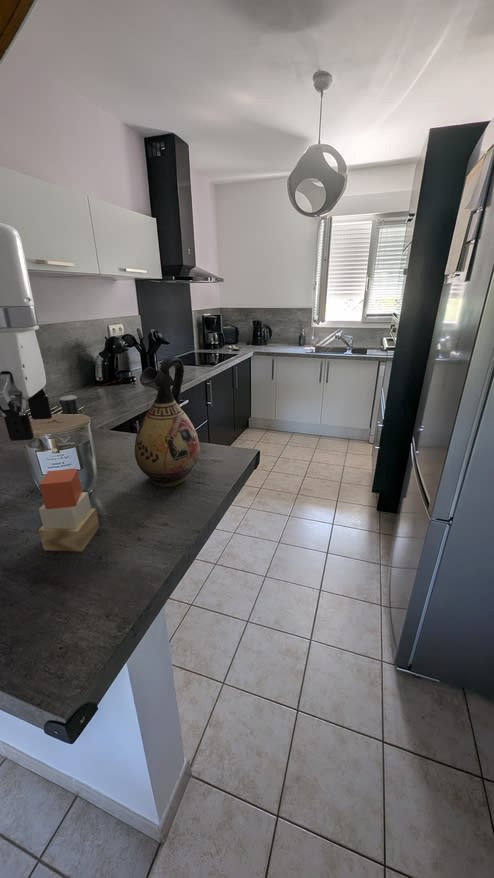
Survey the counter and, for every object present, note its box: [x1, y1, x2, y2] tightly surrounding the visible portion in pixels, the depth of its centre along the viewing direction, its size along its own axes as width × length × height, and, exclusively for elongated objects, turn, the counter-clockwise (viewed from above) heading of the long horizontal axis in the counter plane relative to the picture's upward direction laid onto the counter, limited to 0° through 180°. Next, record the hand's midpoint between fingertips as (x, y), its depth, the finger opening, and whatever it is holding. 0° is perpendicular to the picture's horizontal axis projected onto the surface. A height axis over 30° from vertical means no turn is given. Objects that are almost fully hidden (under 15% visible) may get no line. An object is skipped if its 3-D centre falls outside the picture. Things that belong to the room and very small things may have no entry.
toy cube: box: [39, 468, 83, 509], centre depth 64 cm, size 5×5×5 cm
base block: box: [38, 507, 100, 553], centre depth 67 cm, size 7×7×4 cm
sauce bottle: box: [58, 395, 81, 415], centre depth 90 cm, size 6×6×20 cm
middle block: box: [38, 491, 92, 529], centre depth 65 cm, size 6×6×4 cm
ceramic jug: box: [134, 356, 201, 488], centre depth 84 cm, size 17×15×30 cm
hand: (33, 428), depth 59 cm, fingers open, 9 cm apart
